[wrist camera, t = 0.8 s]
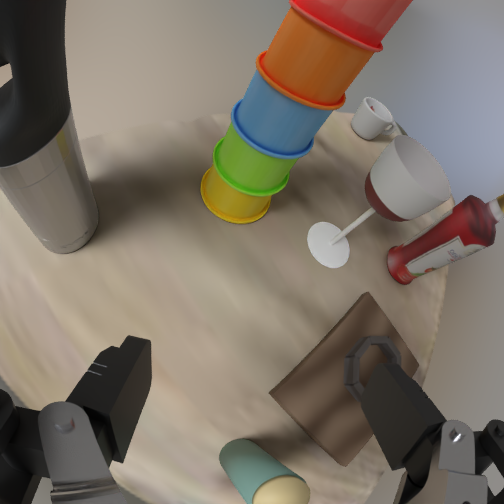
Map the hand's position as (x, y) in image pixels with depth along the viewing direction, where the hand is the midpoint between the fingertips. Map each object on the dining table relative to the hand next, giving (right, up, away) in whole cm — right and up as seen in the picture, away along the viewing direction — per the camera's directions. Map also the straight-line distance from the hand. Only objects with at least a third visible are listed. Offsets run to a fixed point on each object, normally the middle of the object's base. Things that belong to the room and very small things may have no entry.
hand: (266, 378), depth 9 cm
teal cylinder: (-2, -20, +17) cm, 26 cm away
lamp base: (+14, -13, +25) cm, 31 cm away
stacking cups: (-3, +13, +31) cm, 33 cm away
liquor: (+24, +1, +35) cm, 43 cm away
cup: (+26, +32, +48) cm, 63 cm away
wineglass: (+11, +5, +32) cm, 34 cm away
